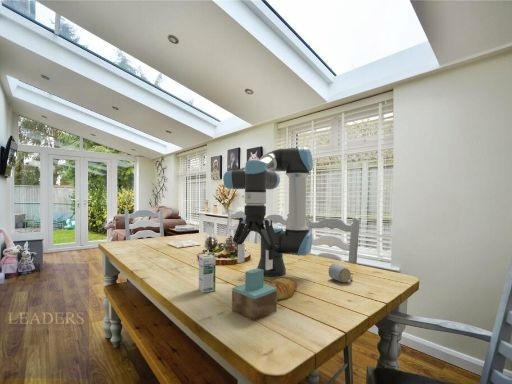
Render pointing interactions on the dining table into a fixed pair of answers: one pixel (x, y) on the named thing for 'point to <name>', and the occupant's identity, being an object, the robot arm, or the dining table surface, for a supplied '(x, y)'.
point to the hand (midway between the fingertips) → (254, 265)
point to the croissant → (284, 287)
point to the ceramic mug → (339, 273)
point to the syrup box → (207, 273)
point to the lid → (254, 285)
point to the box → (254, 305)
